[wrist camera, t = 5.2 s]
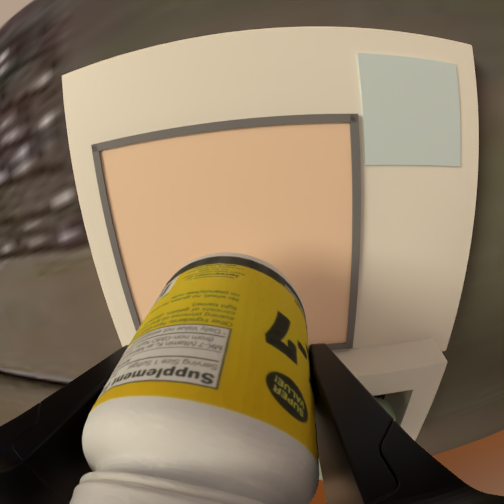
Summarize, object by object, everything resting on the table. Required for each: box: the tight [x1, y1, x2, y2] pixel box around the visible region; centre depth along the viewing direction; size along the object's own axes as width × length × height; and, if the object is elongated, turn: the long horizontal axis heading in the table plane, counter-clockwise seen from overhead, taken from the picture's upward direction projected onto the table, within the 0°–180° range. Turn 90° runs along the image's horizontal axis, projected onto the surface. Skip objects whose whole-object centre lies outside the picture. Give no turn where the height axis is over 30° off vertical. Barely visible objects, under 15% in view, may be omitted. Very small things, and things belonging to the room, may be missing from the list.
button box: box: [333, 338, 447, 441], centre depth 15 cm, size 8×8×3 cm
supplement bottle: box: [70, 252, 319, 504], centre depth 7 cm, size 5×5×8 cm
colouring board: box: [62, 27, 479, 351], centre depth 12 cm, size 16×14×1 cm
